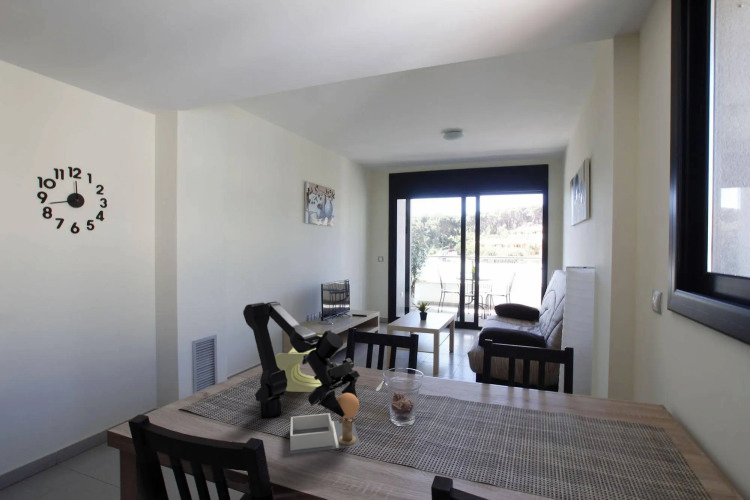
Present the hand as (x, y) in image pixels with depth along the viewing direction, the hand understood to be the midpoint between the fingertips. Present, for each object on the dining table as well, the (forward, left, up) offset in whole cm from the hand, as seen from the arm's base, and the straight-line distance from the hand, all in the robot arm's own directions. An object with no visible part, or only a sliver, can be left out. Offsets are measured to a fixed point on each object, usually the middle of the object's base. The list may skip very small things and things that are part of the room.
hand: (351, 411), depth 108 cm
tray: (-11, +5, -9) cm, 15 cm away
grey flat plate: (-7, +6, -10) cm, 14 cm away
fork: (+21, +46, -10) cm, 52 cm away
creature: (-3, +25, -10) cm, 28 cm away
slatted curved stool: (-12, +50, -10) cm, 53 cm away
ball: (-1, +1, +1) cm, 2 cm away
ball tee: (-1, +1, -9) cm, 9 cm away
